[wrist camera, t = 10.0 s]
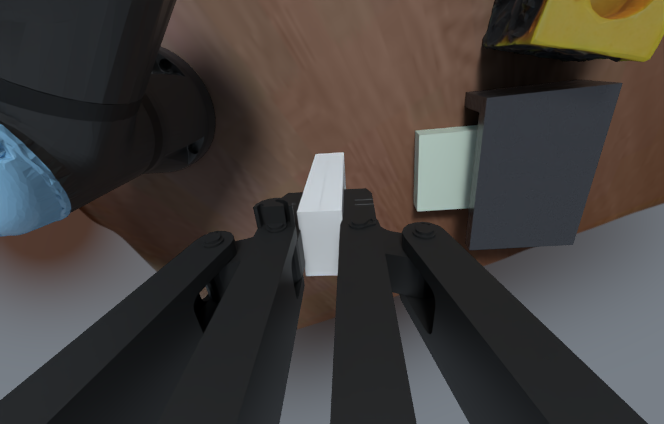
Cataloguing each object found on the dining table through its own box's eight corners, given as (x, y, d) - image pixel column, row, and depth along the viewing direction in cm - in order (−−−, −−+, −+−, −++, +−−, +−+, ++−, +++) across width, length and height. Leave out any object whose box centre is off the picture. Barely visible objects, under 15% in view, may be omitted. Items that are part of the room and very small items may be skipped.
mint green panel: (413, 201, 41) (417, 211, 38) (414, 129, 37) (419, 135, 34) (518, 194, 40) (530, 204, 37) (533, 119, 35) (548, 123, 32)
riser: (454, 226, 42) (469, 250, 37) (466, 92, 34) (486, 97, 28) (544, 220, 40) (572, 244, 35) (578, 79, 32) (622, 82, 27)
